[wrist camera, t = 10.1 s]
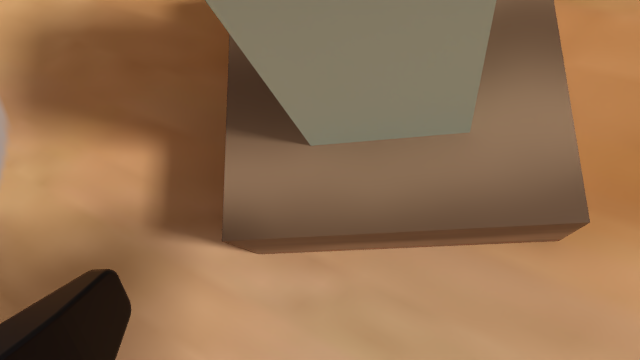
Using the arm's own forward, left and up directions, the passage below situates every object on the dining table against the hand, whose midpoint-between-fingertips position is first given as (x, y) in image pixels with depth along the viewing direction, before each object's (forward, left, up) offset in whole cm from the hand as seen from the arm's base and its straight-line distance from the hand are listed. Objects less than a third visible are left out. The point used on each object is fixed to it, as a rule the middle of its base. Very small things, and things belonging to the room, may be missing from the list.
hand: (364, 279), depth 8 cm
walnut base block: (+4, +7, -12) cm, 14 cm away
